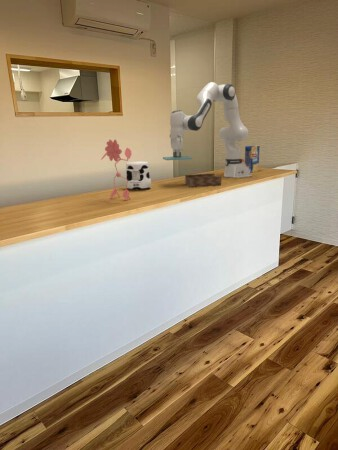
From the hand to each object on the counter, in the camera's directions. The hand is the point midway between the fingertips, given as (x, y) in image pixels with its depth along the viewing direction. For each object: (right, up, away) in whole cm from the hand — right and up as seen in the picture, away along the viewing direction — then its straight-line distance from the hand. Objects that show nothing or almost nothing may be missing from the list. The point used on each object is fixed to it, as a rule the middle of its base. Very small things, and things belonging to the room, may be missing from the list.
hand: (177, 155), depth 229 cm
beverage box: (+67, -1, +60) cm, 90 cm away
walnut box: (+19, -19, +6) cm, 27 cm away
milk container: (-26, -24, -3) cm, 35 cm away
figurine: (-37, -34, -35) cm, 61 cm away
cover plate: (0, -2, +1) cm, 2 cm away
